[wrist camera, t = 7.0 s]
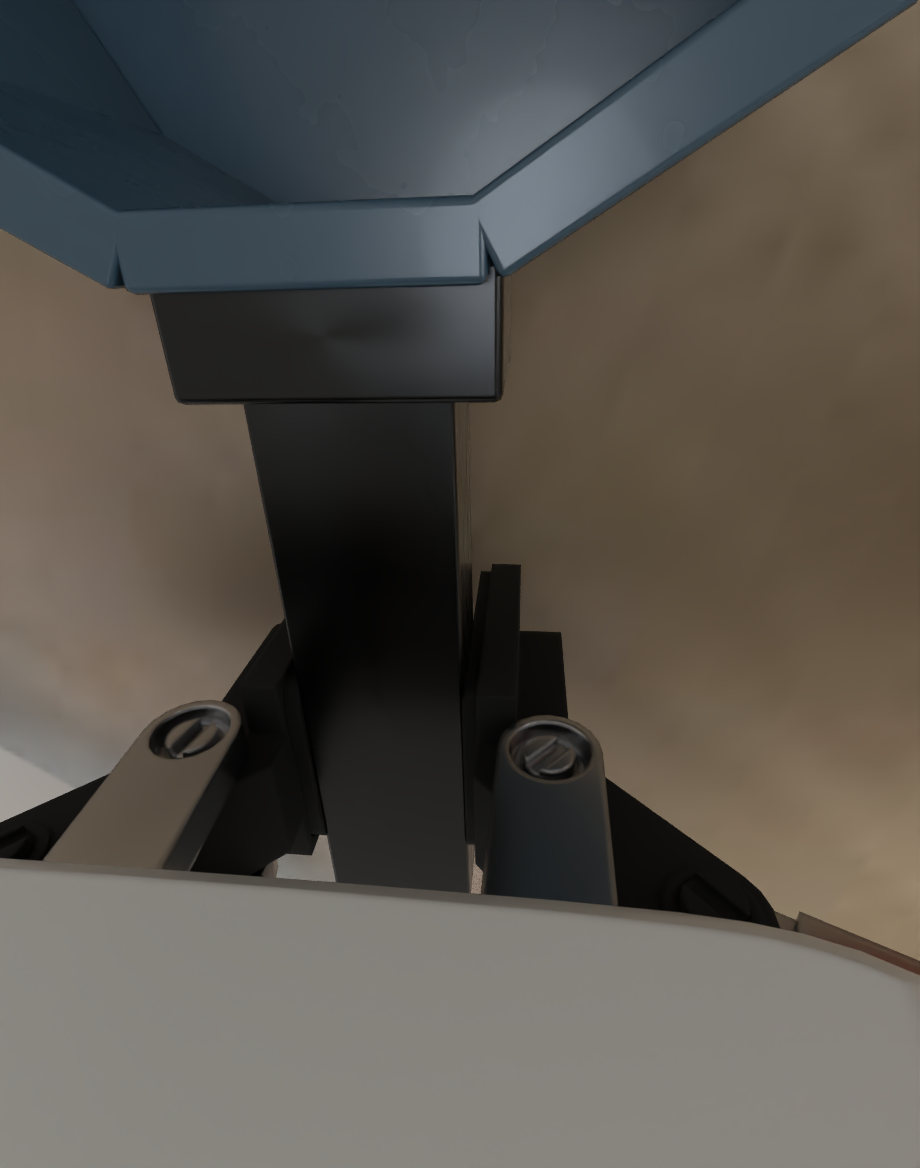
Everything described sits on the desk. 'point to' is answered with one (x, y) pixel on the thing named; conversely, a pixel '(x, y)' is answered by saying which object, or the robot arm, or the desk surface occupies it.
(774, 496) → the desk surface
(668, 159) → the saucepan
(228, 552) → the desk surface
